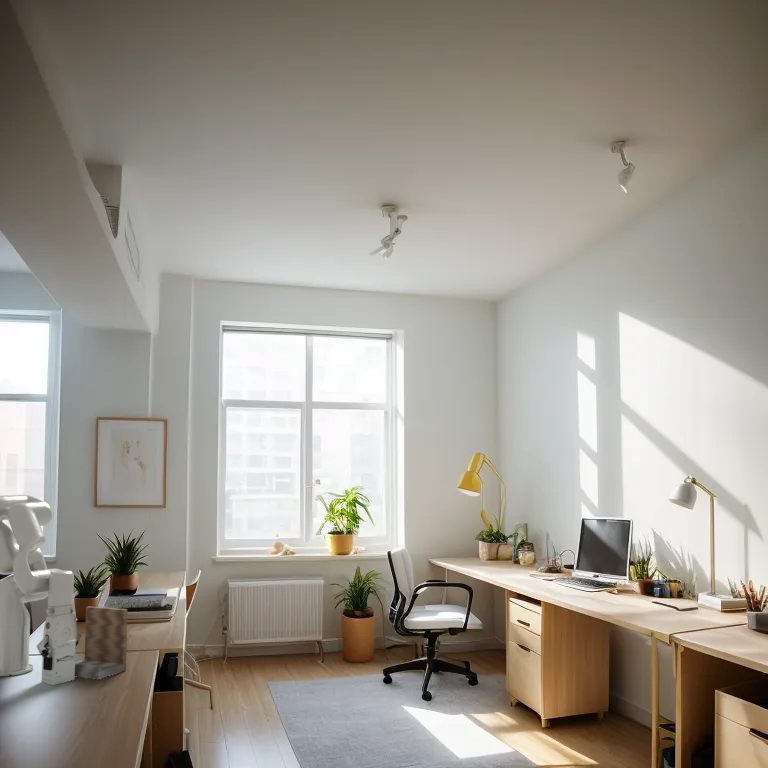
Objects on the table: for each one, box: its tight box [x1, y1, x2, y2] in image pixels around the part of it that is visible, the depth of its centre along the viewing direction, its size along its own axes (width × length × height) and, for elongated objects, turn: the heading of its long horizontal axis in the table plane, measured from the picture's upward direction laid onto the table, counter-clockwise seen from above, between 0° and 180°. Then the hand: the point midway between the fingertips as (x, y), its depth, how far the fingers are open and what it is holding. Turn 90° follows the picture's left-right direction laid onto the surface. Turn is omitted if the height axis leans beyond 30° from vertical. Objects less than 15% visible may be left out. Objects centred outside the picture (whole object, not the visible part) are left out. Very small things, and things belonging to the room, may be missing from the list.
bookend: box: [75, 605, 128, 680], centre depth 253 cm, size 17×12×20 cm
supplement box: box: [41, 640, 77, 686], centre depth 243 cm, size 7×7×13 cm
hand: (58, 666), depth 243 cm, fingers closed on supplement box, 8 cm apart
